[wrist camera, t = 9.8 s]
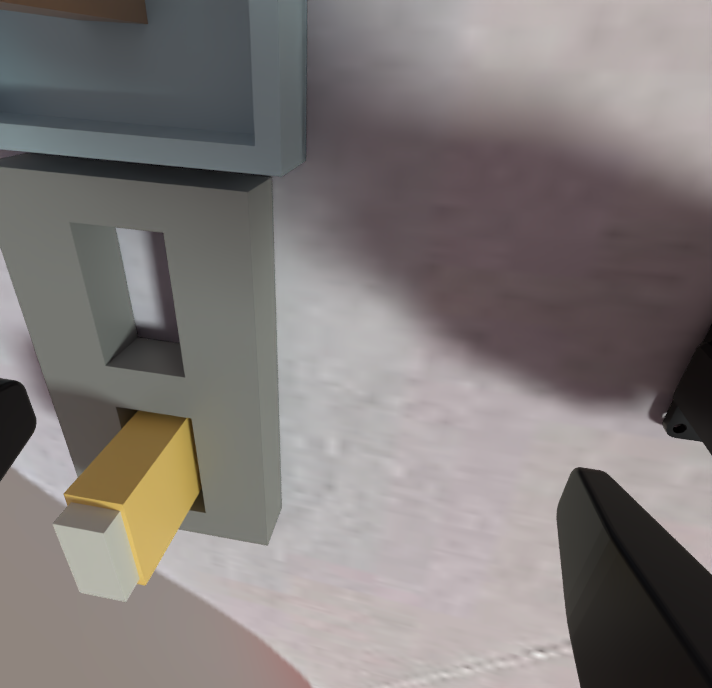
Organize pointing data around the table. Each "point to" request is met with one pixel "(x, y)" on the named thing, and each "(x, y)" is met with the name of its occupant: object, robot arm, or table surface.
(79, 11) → the block
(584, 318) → the table surface
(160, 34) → the parts tray
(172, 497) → the block
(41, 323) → the block
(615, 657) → the robot arm
